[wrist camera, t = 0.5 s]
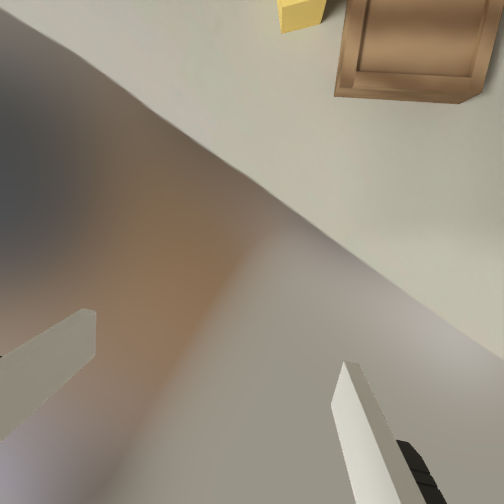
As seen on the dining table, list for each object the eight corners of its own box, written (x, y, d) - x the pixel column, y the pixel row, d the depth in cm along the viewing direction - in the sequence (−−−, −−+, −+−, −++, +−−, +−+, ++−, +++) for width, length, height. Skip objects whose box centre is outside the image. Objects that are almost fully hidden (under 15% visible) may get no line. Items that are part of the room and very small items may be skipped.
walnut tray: (354, -52, 31) (365, -85, 27) (495, -48, 30) (526, -82, 26) (333, 96, 35) (340, 84, 31) (458, 104, 34) (481, 93, 30)
